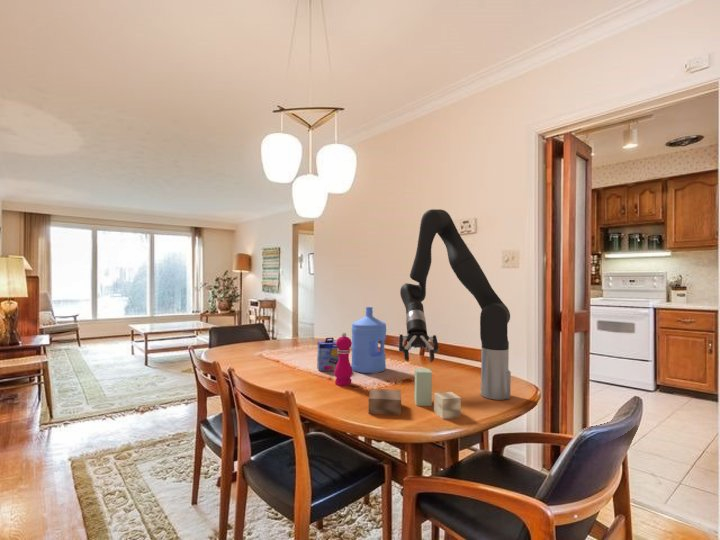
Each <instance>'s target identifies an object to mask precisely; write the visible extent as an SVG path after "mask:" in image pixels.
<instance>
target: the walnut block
mask: <svg viewBox="0 0 720 540" xmlns="http://www.w3.org/2000/svg"><path fill="white" fill-rule="evenodd" d="M368 415H388V416H402V392H401V389H388V388H387V389H382V388H370V391H369V394H368Z"/></svg>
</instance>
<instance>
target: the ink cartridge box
mask: <svg viewBox="0 0 720 540" xmlns="http://www.w3.org/2000/svg"><path fill="white" fill-rule="evenodd" d="M336 342H337V340H334V337H326V338H325V340H324V341H317V357H316V359H317V361H316V362H317V365H316V368H317V370H318V372H323V371H324V372H325V371H327V372H328V371H335V367H336V365H337V363H338V359H339V353H338V347H337V345H336Z"/></svg>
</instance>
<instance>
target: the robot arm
mask: <svg viewBox="0 0 720 540" xmlns="http://www.w3.org/2000/svg"><path fill="white" fill-rule="evenodd" d="M436 234H437V235H438V236H439V238H440V239H441V241H442V242H443V243H444V245H445V249H446V252H447V257H448V259H447V260H448V263H449V265H450V268H451V270H452V271H453V273H454V274H455V276H456V278H457V279H458V280H459V282H460V283H461V284H462V285H463V286H464V287H465V289H467V290H468V292H469V294H471V295H472V296H473V297H474V300H476V302H477V303H478V305H479V307H480V310H481V311H480V315H479V317H480V318H479V325H480V326H479V331H480V332H479V333H480V334H479V335H480V336H479V337H480V341H481V354H480V355H481V360H480V361H481V362H480V363H481V365H480V366H481V367H480V368H481V369H480V371H481V372H480V373H481V374H480V375H481V376H480V396H482V397H483V398H486V399H490V400H494V401H495V400H496V401H498V400H499V401H501V400H507V399H509V400H510V399H511V383H512V382H511V381H512V380H511V379H512V378H511V377H512V376H511V373H512V372H511V371H510V370H509V368H510V367H509V364H510V363H509V359H510V358H509V357H510V356H509V355H510V353H509V351H510V342H509V339H508V338H509V337H508V324H509V322H510V321H511V312H510V309H508V306H507V305H506V304H505V303H504V302H503V301H502V299H501V298H500V296H499V295H498V294H497V293H496V291H495V290H494V289H493V287H492V286H491V283H490V281H489V280H488V278H487V276H486V274H485V273H484V271H483V269H482V268H481V265H479V262H478V260H477V258H476V257H475V256H474V254H473V253H472V251H471V250H470V248H469V247H468V246H467V243H466V242H465V241H464V239H463V238H462V237H461V235H460V233H459V230H458V229H457V226H456V224H455V223H454V221H453V218H452V217H451V215H450V213H449V212H448V211H446V210H444V209H442V208H441V209H435V208H432V209H428V210H426V211H424V213H423V214H422V217H421V220H420V226H419V234H418V240H417V247H416V250H415V251H416V252H415V256H414V259H413V263H412V266H411V269H410V273H409V278H410V279H411V280H413V281H415V282H416V283H418V285H417V284H413V283H408V282H407V283H404V284H402V286H401V287H400V291H399V292H400V298H401V300H402V303H403V304H404V308H405V313H406V320H405V325H406V335H405V336H404V335H403V334H399V337H398V338H399V339H398V351H399V352H403V354H404V361H406V362H409V361H410V353H409V351H410V350H411V349H412V348H415V349H417V348H420V349H423V348H424V349H425V350H426V351H428V352H429V353H428V354H429V361H430V363H433V362H434V361H435V353H438V352H439V343H438V339H437V335H436V334H433V335H432V336H430V335H428V330H427V322H426V317H425V312H424V311H425V310H424V309H425V308H424V305H423V304H424V303H422V302H423V301H424V300H425V299H426V297H427V278H428V275H429V273H430V269H431V265H432V248H433V243H434V239H435V237H436ZM405 341H406V342H407V344H406V345H405V346H403V345H404V343H405ZM429 341H430V342H431V343H430V342H429ZM432 345H433V346H432Z"/></svg>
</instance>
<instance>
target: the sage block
mask: <svg viewBox="0 0 720 540" xmlns="http://www.w3.org/2000/svg"><path fill="white" fill-rule="evenodd" d="M432 387H433V372H432V370H431V369H430V368H414V399H413V400H414V403H415V406H417V407H418V406H419V407H420V406H421V407H423V406H425V407H432V405H433V404H432V401H433V399H432V398H433V397H432V395H433V394H432V392H433V391H432V390H433V388H432Z"/></svg>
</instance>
